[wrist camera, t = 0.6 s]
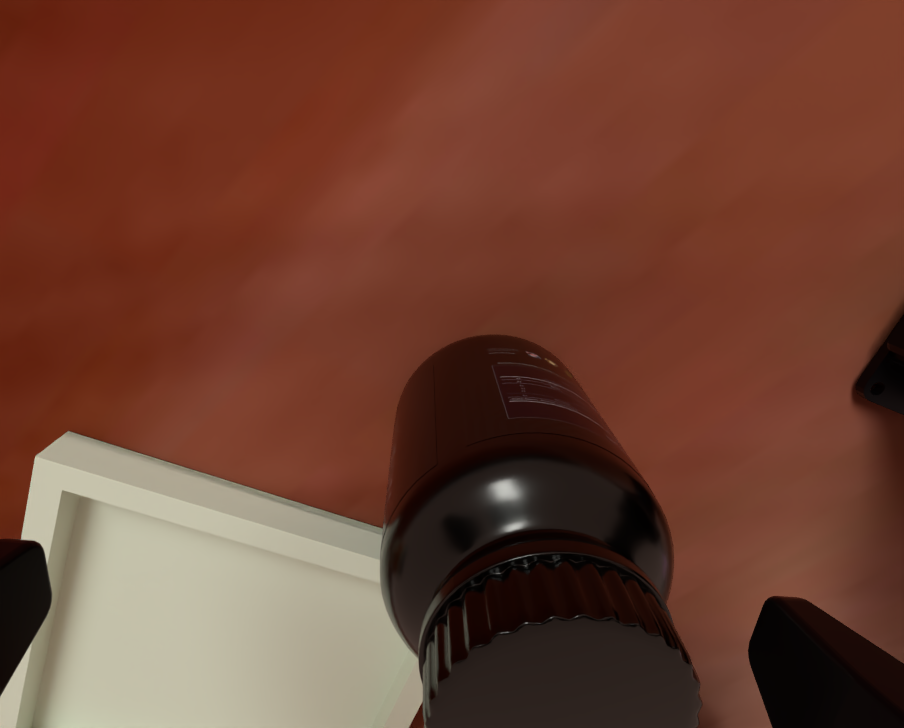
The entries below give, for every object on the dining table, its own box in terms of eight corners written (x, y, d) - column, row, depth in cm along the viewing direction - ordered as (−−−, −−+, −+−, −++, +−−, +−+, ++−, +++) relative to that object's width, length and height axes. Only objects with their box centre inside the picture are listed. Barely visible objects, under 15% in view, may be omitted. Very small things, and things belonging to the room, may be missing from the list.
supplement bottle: (521, 522, 22) (610, 896, 11) (365, 451, 21) (287, 795, 10) (620, 380, 20) (850, 662, 9) (453, 292, 19) (484, 495, 8)
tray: (477, 558, 23) (480, 590, 21) (351, 805, 28) (346, 847, 26) (68, 430, 20) (35, 456, 19) (11, 728, 25) (-19, 769, 24)
